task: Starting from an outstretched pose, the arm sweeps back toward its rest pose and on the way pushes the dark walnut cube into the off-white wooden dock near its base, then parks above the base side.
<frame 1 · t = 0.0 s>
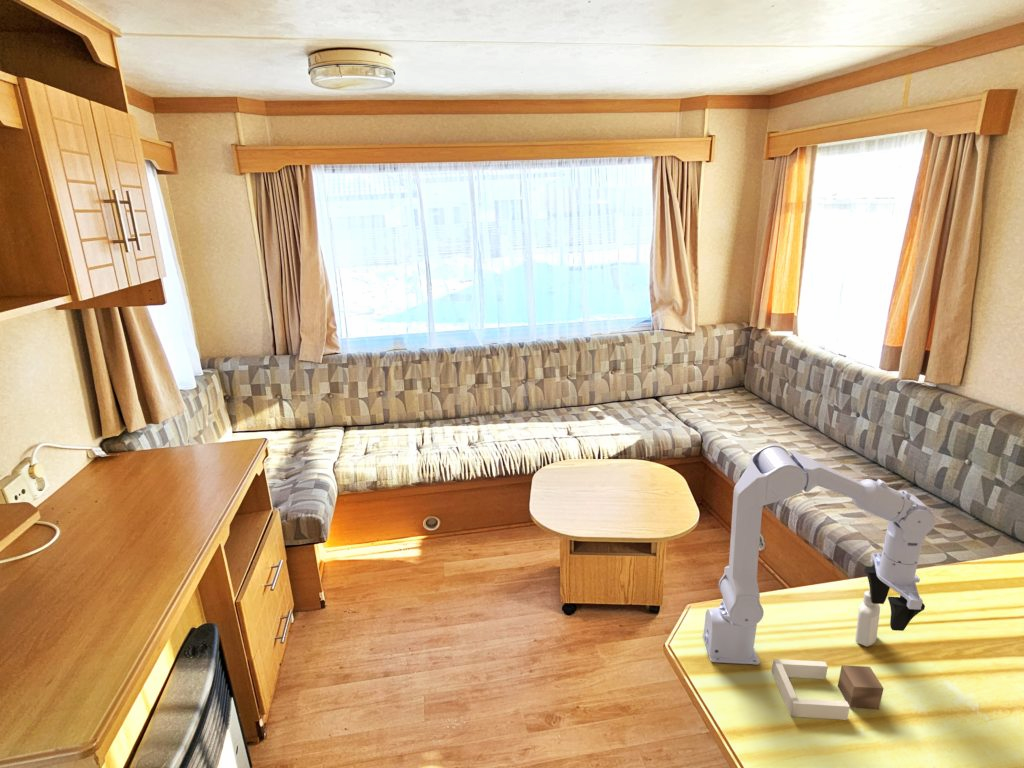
hand: (886, 615, 114), 10 cm above the table, fingers open, 7 cm apart
eye dropper bottle: (865, 639, 122), on the table, touching gripper
dock: (815, 694, 109), on the table
walnut cube: (857, 697, 108), on the table
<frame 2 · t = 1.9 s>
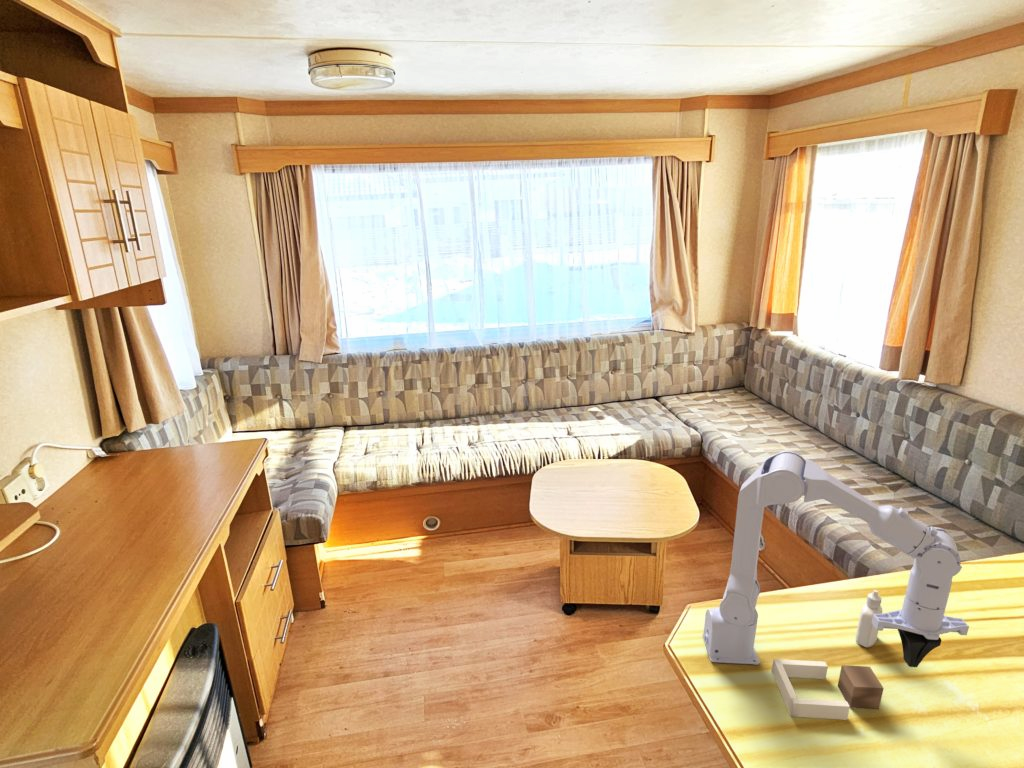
hand: (910, 662, 104), 9 cm above the table, fingers closed
eye dropper bottle: (865, 640, 122), on the table
everything else where it was.
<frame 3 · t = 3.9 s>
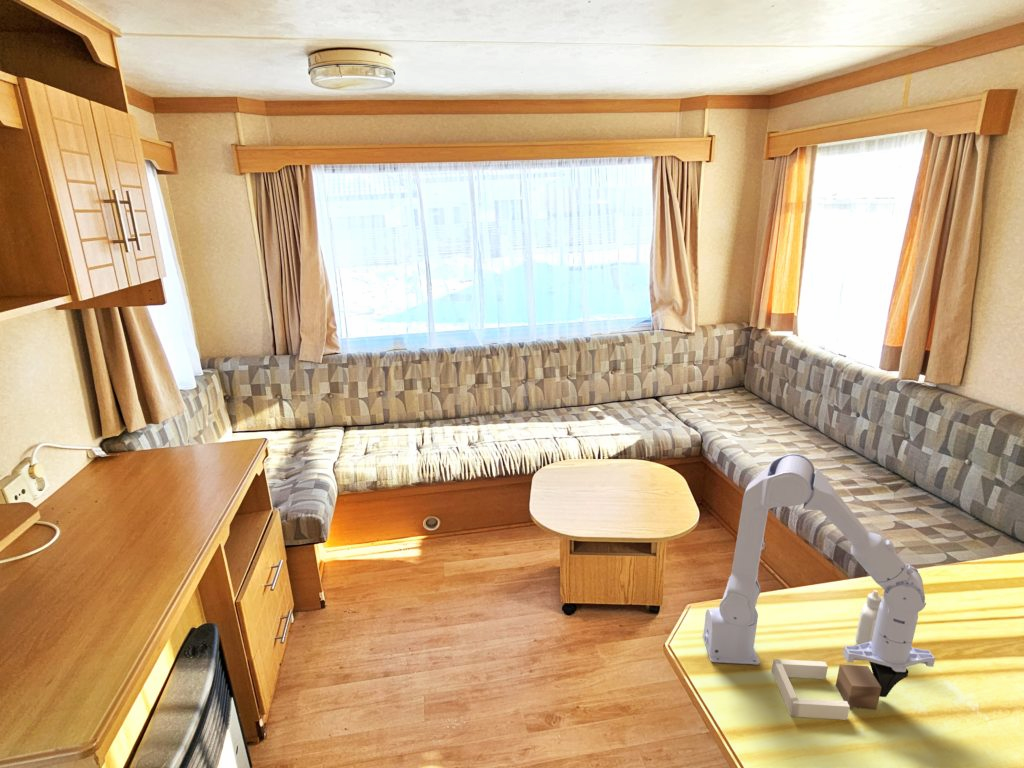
hand: (880, 692, 108), 1 cm above the table, fingers closed
walnut cube: (855, 697, 108), on the table, touching gripper
everything else where it was.
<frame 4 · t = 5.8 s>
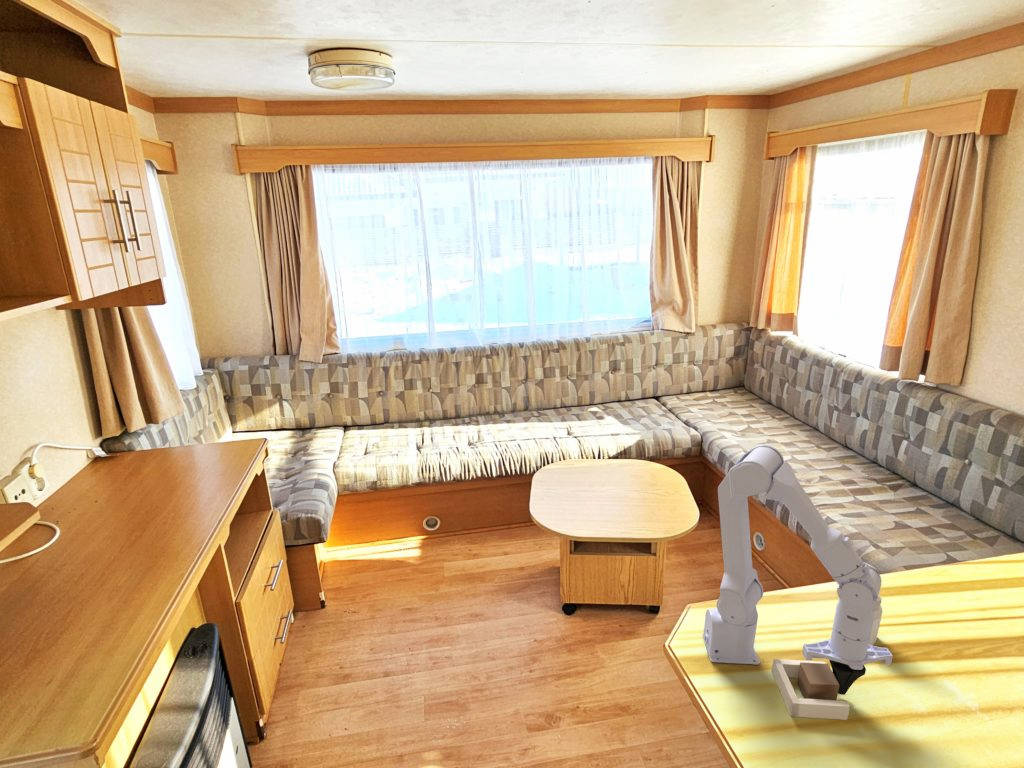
hand: (839, 690, 108), 1 cm above the table, fingers closed
walnut cube: (815, 694, 109), on the table, touching gripper
everything else where it was.
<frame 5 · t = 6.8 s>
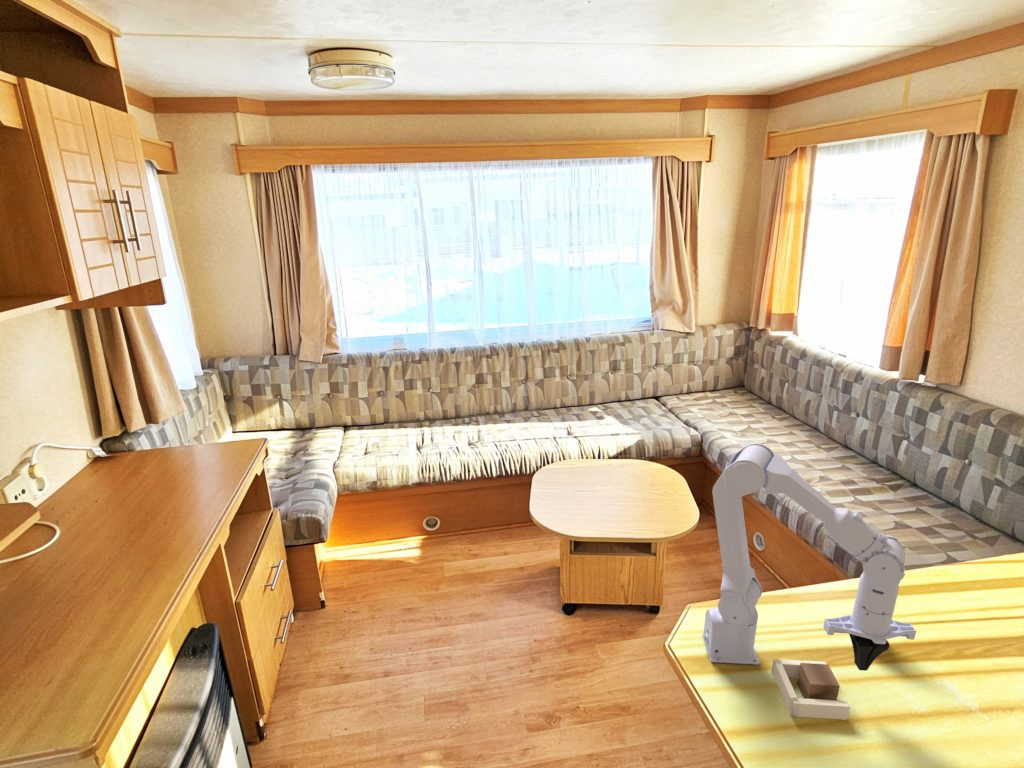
hand: (860, 666, 106), 7 cm above the table, fingers closed
walnut cube: (815, 695, 109), on the table
everything else where it was.
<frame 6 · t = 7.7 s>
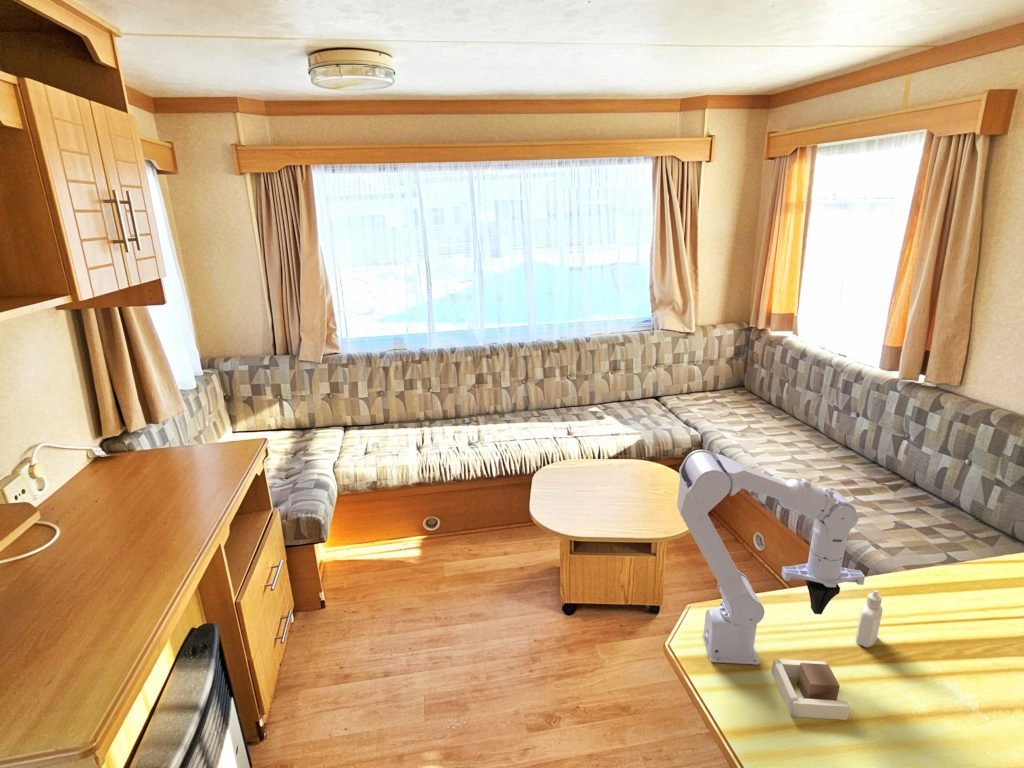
hand: (816, 610, 116), 10 cm above the table, fingers closed
nothing on the table moved.
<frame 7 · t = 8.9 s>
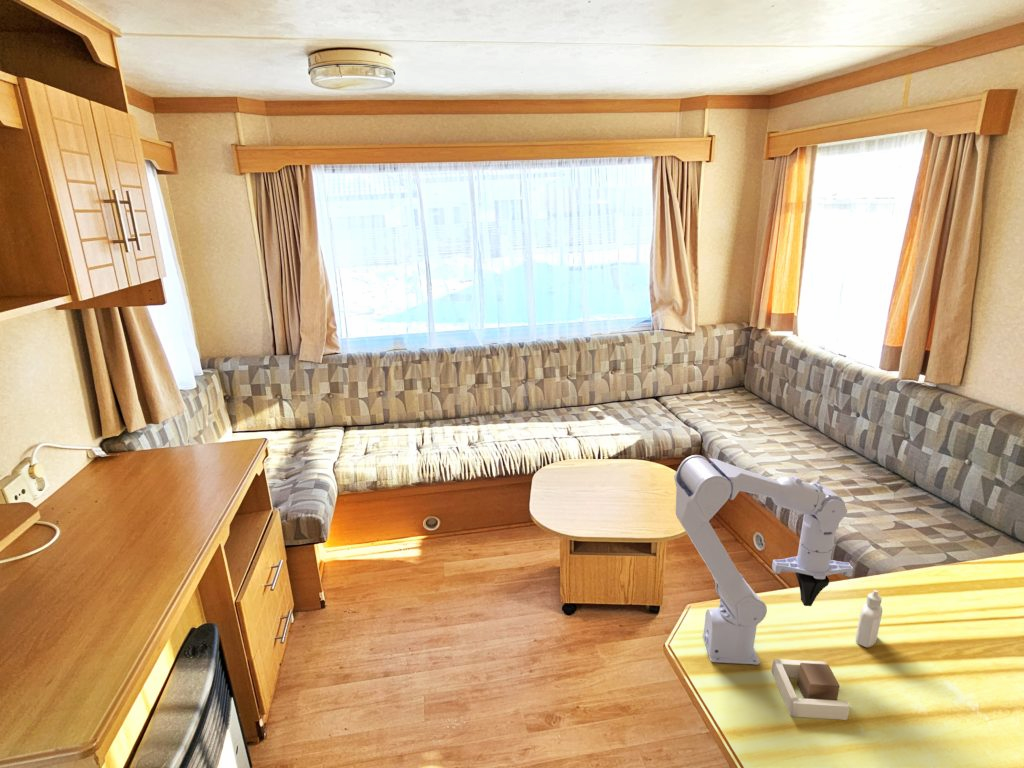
hand: (806, 602, 119), 10 cm above the table, fingers closed
nothing on the table moved.
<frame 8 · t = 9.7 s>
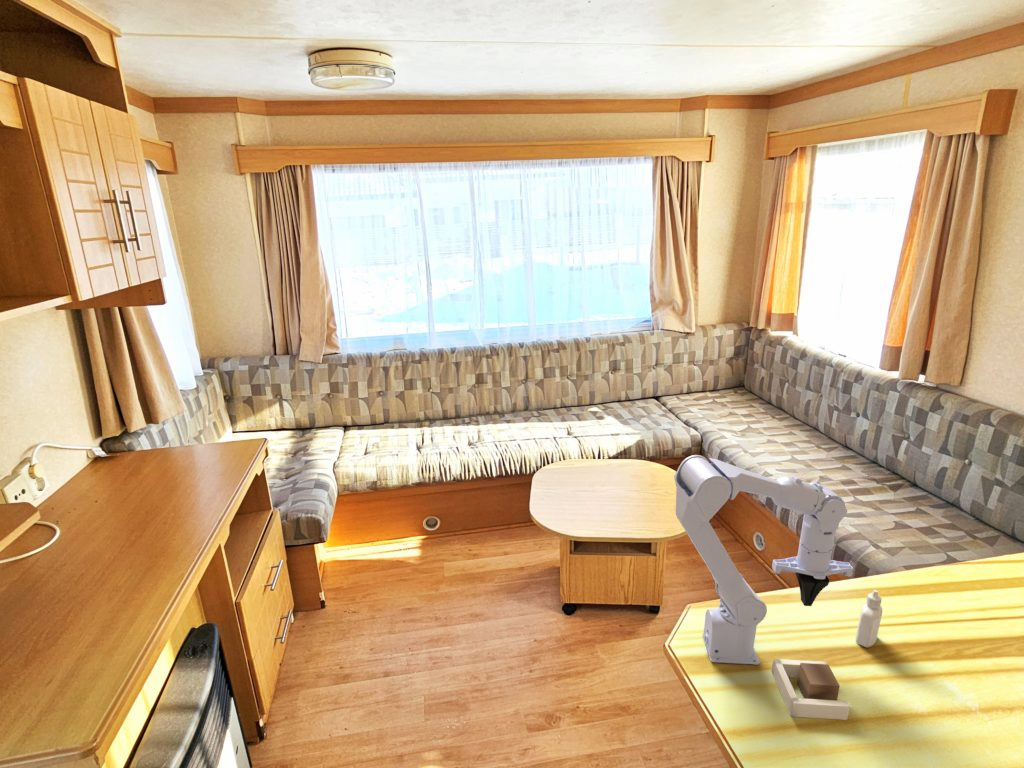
hand: (806, 602, 119), 10 cm above the table, fingers closed
nothing on the table moved.
at the end: walnut cube 0.4 cm off-centre on the dock, point 0.0 cm above the dock's base; walnut cube moved 7.4 cm from its start; walnut cube tilted 0° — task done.
